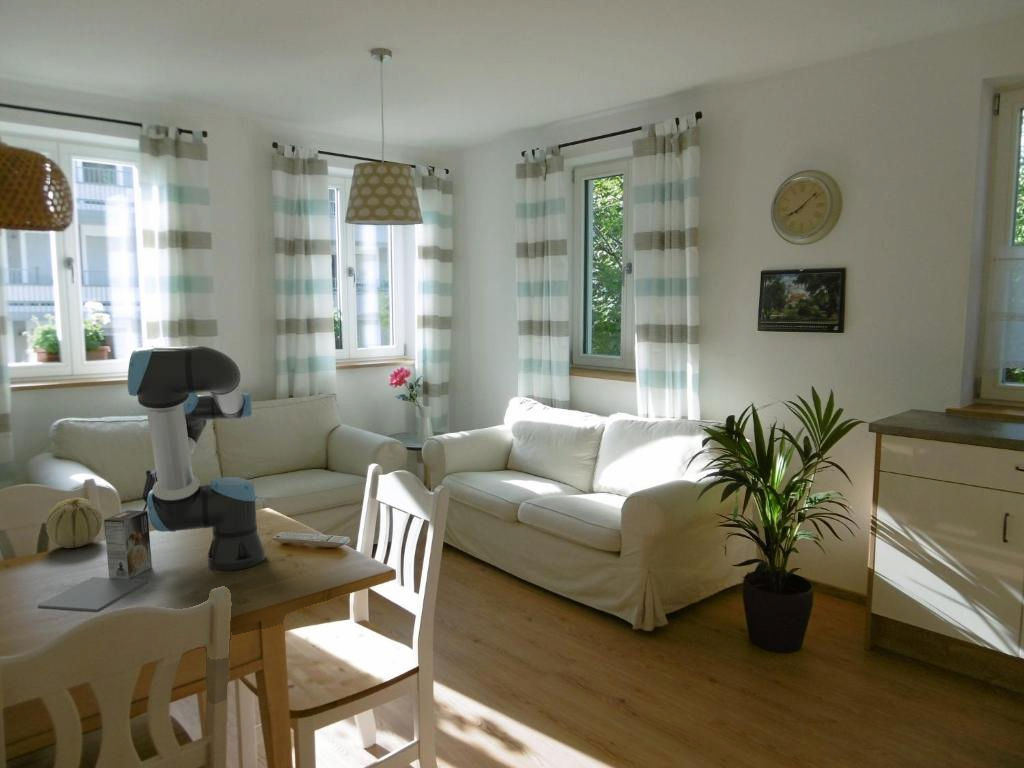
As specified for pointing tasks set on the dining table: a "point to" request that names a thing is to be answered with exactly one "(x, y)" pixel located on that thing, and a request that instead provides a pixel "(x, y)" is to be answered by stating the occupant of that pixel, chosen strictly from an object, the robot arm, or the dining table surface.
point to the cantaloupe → (73, 522)
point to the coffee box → (128, 544)
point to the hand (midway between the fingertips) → (144, 524)
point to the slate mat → (93, 594)
